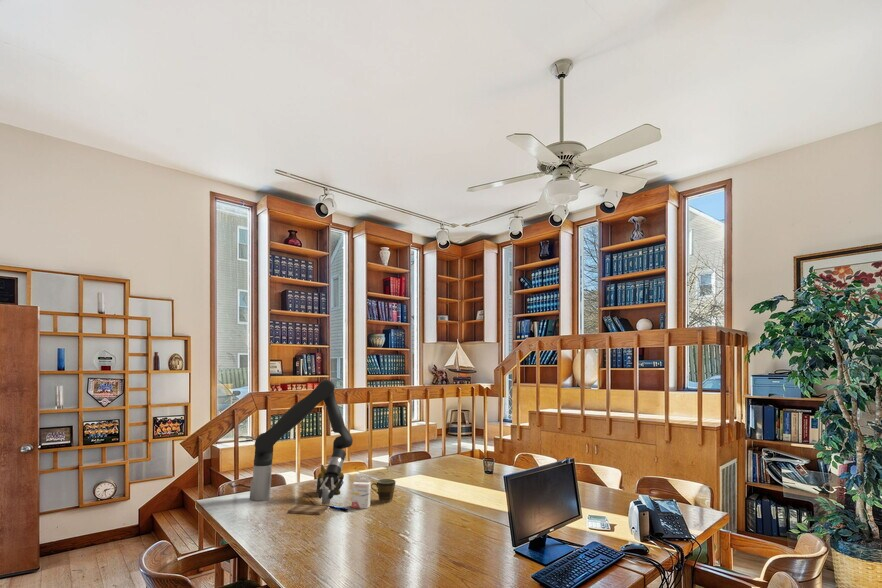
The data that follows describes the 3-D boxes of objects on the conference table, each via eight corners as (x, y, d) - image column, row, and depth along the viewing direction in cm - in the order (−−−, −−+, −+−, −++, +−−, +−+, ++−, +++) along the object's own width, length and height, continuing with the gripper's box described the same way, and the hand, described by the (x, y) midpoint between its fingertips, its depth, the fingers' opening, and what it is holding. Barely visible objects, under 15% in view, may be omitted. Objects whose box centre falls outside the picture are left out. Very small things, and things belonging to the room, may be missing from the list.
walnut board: (287, 513, 228) (288, 510, 228) (297, 506, 237) (297, 504, 237) (319, 514, 225) (319, 511, 225) (327, 508, 235) (327, 505, 235)
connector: (320, 506, 239) (321, 488, 240) (323, 504, 243) (324, 486, 244) (328, 507, 238) (329, 488, 239) (331, 504, 242) (332, 486, 243)
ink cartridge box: (351, 508, 237) (352, 477, 239) (353, 505, 241) (355, 474, 244) (368, 508, 236) (369, 477, 238) (370, 505, 241) (371, 475, 243)
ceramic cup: (392, 497, 256) (393, 478, 257) (397, 502, 246) (397, 482, 248) (368, 499, 252) (369, 479, 253) (372, 504, 242) (372, 484, 244)
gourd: (318, 490, 269) (319, 464, 271) (343, 489, 271) (344, 463, 273) (315, 497, 256) (316, 470, 257) (342, 496, 258) (343, 469, 259)
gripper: (320, 463, 251) (309, 493, 238) (346, 464, 249) (336, 494, 236) (323, 471, 256) (313, 501, 242) (349, 472, 254) (340, 502, 240)
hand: (324, 497), depth 239 cm, fingers open, 5 cm apart
